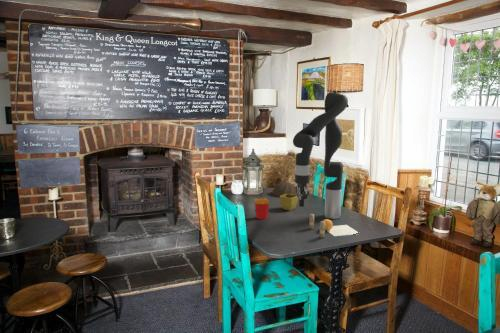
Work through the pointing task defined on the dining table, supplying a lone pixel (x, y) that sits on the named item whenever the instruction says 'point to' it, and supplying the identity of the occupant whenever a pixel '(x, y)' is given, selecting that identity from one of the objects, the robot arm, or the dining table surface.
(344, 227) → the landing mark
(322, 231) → the right post
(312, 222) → the left post
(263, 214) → the french fries
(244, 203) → the dining table surface
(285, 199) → the flower pot
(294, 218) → the dining table surface
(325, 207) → the robot arm
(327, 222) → the ball
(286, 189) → the decorative dome
